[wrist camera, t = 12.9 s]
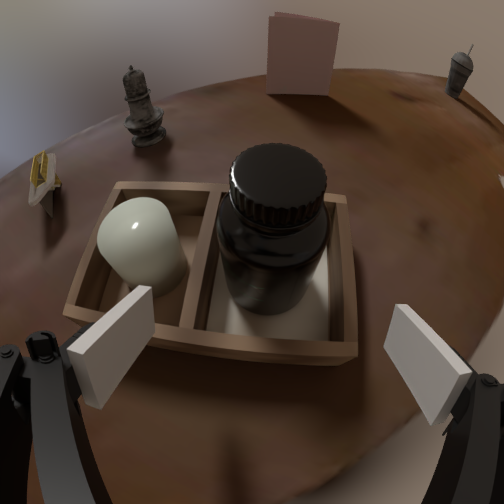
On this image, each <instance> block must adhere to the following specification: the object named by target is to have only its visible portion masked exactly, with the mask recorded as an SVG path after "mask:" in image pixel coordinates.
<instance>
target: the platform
mask: <svg viewBox="0 0 504 504" xmlns="http://www.w3.org/2000/svg"><path fill="white" fill-rule="evenodd" d="M42 153H43V154H42ZM40 154H42V155H43V156H42V155H41V156H42V157H41V156H39V155H40ZM39 155H38V154H37V155H36V157H38V156H39V157H38V158H37V159H36V157H35V156H34V159H33V164H32V170H31V177H30V180H31V183H30V191H29V201H28V203H29V204H30V206H34V205H35V204H37V203H38V202H40V204H41V205H42V206H43V208H44V209H45V210H46V212H47V213H48V214H49V215H50V217H51V218H53V190H55V187H60V185H61V181H60V180H59V178H58V176H57V175H56V173H55V166H56V156H55V154H54V153H51V154H48V155H46V153H45V152H44V150H43V151H42V152H40V153H39Z"/></svg>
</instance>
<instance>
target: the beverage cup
mask: <svg viewBox="0 0 504 504" xmlns="http://www.w3.org/2000/svg"><path fill="white" fill-rule="evenodd" d="M472 47H473V44H472V45H471V47H470V50H469V52H468V54H467V55H466V54H465V53H462V52H457V53H455V54H454V56H453V57H452V60H451V68H450V72H449V76H448V80H447V83H446V88H445V92H446V93H447V94H448V95H450V96H451V97H453V98H455V99H457V98H458V96H459V95H460V93H461V91H462V89H463V87H464V85H465V83H466V81H467V79H468V77H469V76H470V75H471V73H472V72H473V62H472V60H471V58H470V57H469V53H470V51H471V49H472Z"/></svg>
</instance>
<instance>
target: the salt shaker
mask: <svg viewBox="0 0 504 504" xmlns="http://www.w3.org/2000/svg"><path fill="white" fill-rule="evenodd" d="M129 69H130V71H129V72H128V73H126V74H125V75H124V77H123V84H124V88H125V91H126V97H125V100H126V101H128V104H129V107H130V115H129V116H128V117H127V118H126V119H125V121H124V126H125V127H126V128H128V130H129V131H130V132H131V133H132V134H133V135H134V137H133V138H132V143H133V145H134V146H136V147H147V146H151V145H153V144H156V143H157V142H159V141H160V140H162V139H163V138H164V136H165V135H166V130H165V128H163V127H161V126H160V125H161V123H162V116H163V114H164V111H163V109H161V108H160V107H153V106H152V104H151V101H150V96H149V93H150V89H148V88H147V86H146V81H145V77H144V73H143V72H142V71H141V70H134V69H133V66H130V67H129Z"/></svg>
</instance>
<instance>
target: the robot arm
mask: <svg viewBox="0 0 504 504" xmlns="http://www.w3.org/2000/svg"><path fill="white" fill-rule="evenodd" d="M154 333H155V321H154V310H153V297H152V287H149V286H141V285H139V286H138V287H137V288H135V289H134V290H133V291H132V292H131V293H129V294H128V295H127V296H126V297H125V298H123V299H122V300H121V301H120V302H119V303H118V304H116V305H115V306H114V307H113V308H112V309H111V310H110V311H108V312H107V313H106V314H105V315H104V316H103V317H102V318H100V319H99V320H98V321H97V322H96V323H95V322H92V323H89V324H87V325H85V326H83V327H82V328H81V329H80V330H79V331H77V333H75V334H74V335H73V336H72V337H71V338H69V339H68V340H67V341H66V342H65V343H64V344H63V345H61V346H60V347H58V344H57V340H56V337H55V334H53V333H52V332H50V331H38V332H35V333H33V334H31V335H29V336H28V337H27V339H26V341H25V342H26V345H27V348H28V351H29V354H30V357H31V358H30V357H23V356H22V355H21V353H20V350H19V348H18V347H17V346H16V345H12V344H11V345H5V346H4V345H3V346H2V347H0V504H27V481H28V469H29V460H30V452H31V445H32V439H33V443H34V451H35V458H36V465H37V470H38V476H39V481H40V485H41V490H42V494H43V498H44V502H45V504H113V503H112V501H111V499H110V496H109V494H108V492H107V490H106V487H105V485H104V482H103V480H102V477H101V475H100V472H99V469H98V467H97V464H96V461H95V458H94V455H93V452H92V449H91V446H90V443H89V440H88V436H87V433H86V429H85V425H84V422H83V418H82V414H81V409H80V405H79V403H78V400H77V399H78V398H79V397H80V395H81V394H82V396H83V399H84V401H85V403H86V404H87V405H89V406H92V407H95V408H97V409H100V410H101V409H102V408H103V406H104V405H105V403H106V402H107V400H108V399H109V397H110V396H111V394H112V393H113V391H114V390H115V389H116V387H117V386H118V384H119V383H120V381H121V380H122V378H123V377H124V376H125V374H126V373H127V371H128V370H129V368H130V367H131V366H132V364H133V363H134V361H135V360H136V358H137V357H138V356H139V354H140V353H141V351H142V350H143V349H144V347H145V346H146V344H147V343H148V342H149V340H150V339H151V337H152V336H153V335H154ZM384 349H385V350H386V352H387V353H388V355H389V356H390V358H391V360H392V361H393V363H394V364H395V366H396V368H397V369H398V371H399V373H400V374H401V376H402V377H403V379H404V381H405V382H406V384H407V386H408V387H409V389H410V391H411V392H412V394H413V396H414V397H415V399H416V401H417V403H418V404H419V406H420V408H421V410H422V411H423V413H424V415H425V417H426V418H427V420H428V422H429V424H430V425H431V426H432V425H436V424H440V423H443V422H444V421H445V420H446V418H447V417H448V415H449V413H450V412H451V414H452V415H453V419H452V421H451V422H450V424H449V425H448V426H447V428H446V429H445V431H444V432H443V434H442V435H443V436H444V435H445V433H446V432H447V436H446V440H445V443H444V446H443V449H442V453H441V455H440V458H439V461H438V464H437V467H436V470H435V472H434V475H433V478H432V480H431V482H430V485H429V487H428V490H427V492H426V494H425V497H424V499H423V501H422V503H421V504H504V384H499V382H498V380H497V379H496V378H494V377H493V376H491V375H489V374H479V375H478V374H477V372H476V371H475V370H474V369H473V368H472V367H471V366H470V365H469V364H468V363H467V362H466V361H464V358H463V357H462V356H460V354H459V353H458V352H457V351H456V350H455V349H454V348H452V347H451V346H449V345H447V344H446V343H445V342H444V341H443V340H442V339H441V338H440V337H439V336H438V335H437V334H436V332H435V331H434V330H433V329H432V328H431V327H430V326H429V325H428V324H427V323H426V322H425V321H424V320H423V319H422V318H420V317H419V316H418V315H417V314H416V313H415V312H414V311H413V310H412V309H411V308H410V307H409V306H408V305H407V304H396V305H395V309H394V312H393V316H392V320H391V323H390V327H389V330H388V334H387V337H386V340H385V343H384ZM11 395H12V397H11Z"/></svg>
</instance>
